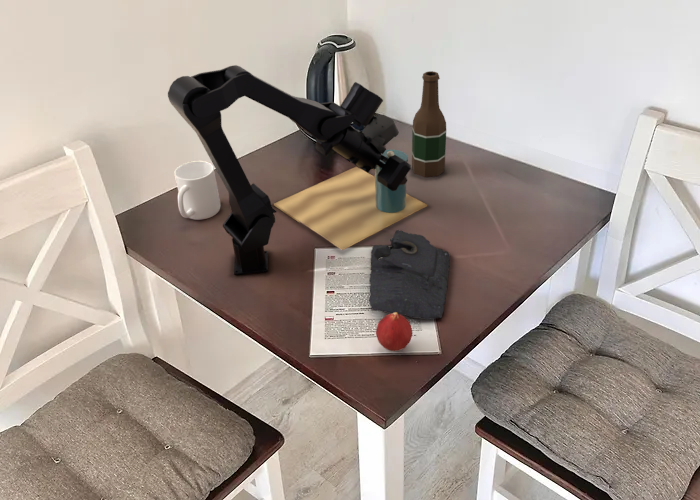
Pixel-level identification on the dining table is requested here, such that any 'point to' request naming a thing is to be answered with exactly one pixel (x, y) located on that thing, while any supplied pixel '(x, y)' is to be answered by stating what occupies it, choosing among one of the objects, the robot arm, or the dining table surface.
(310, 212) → the mat
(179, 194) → the cup
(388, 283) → the dark slate chunk
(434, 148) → the beer bottle
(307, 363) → the dining table surface
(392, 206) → the pot
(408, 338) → the onion
